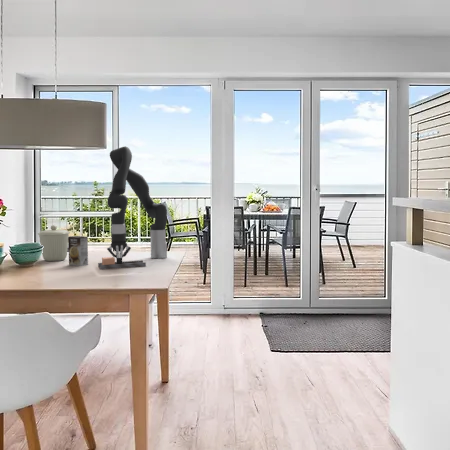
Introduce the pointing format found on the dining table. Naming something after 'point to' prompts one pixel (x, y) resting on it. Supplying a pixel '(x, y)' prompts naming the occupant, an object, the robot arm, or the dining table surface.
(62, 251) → the canister
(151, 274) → the dining table surface
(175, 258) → the dining table surface
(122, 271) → the dining table surface
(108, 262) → the block
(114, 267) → the chute
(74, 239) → the coffee box
